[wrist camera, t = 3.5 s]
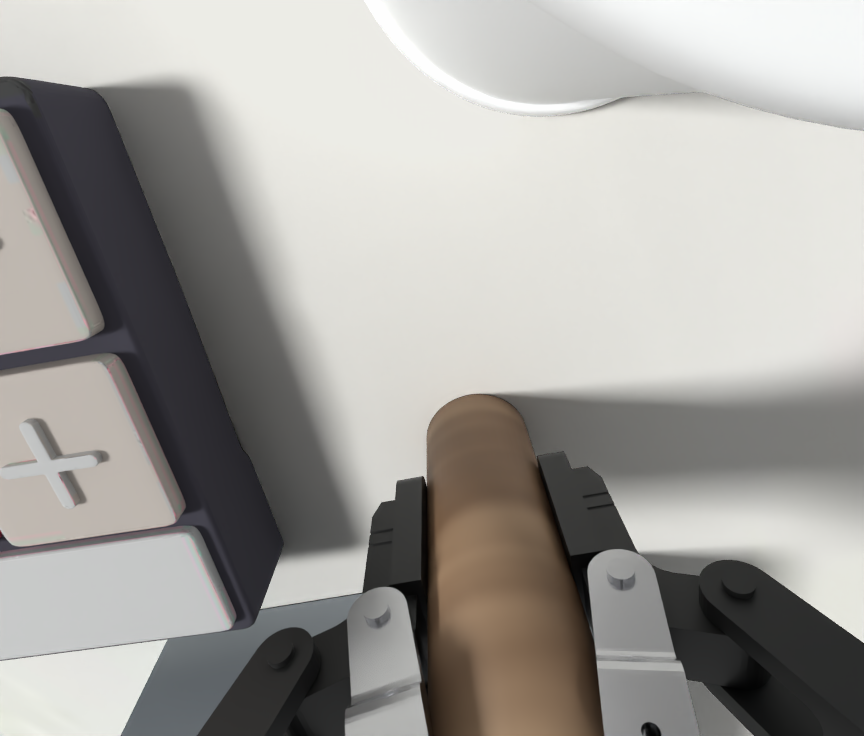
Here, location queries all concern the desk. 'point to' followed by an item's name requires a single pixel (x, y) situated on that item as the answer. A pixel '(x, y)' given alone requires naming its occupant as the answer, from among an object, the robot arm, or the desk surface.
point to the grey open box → (217, 667)
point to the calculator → (108, 407)
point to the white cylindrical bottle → (638, 52)
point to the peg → (500, 586)
